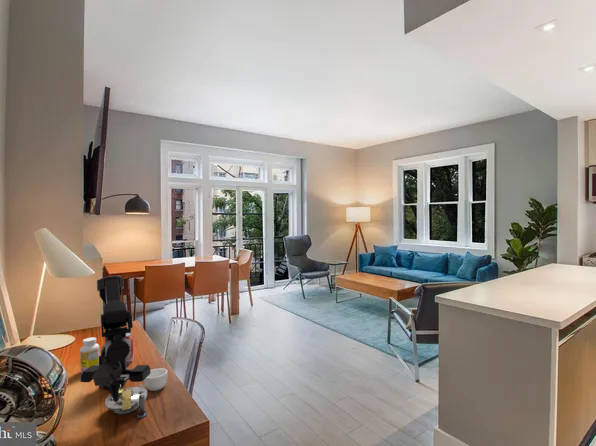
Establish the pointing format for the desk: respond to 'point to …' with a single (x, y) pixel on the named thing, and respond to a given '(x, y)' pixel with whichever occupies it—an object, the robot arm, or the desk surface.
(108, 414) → the desk surface
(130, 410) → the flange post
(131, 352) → the soda can
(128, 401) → the flange plate
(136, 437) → the desk surface
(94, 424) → the desk surface
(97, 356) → the supplement bottle
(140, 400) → the flanged pin
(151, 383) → the teacup
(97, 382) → the robot arm
